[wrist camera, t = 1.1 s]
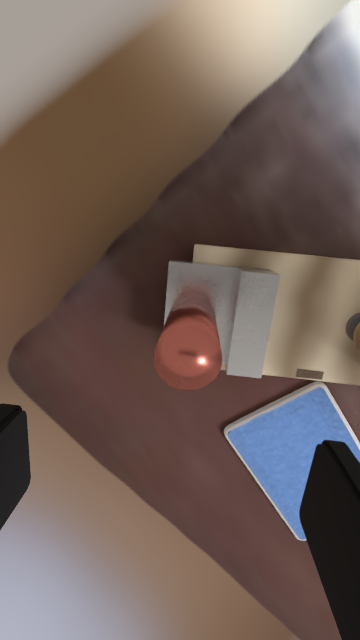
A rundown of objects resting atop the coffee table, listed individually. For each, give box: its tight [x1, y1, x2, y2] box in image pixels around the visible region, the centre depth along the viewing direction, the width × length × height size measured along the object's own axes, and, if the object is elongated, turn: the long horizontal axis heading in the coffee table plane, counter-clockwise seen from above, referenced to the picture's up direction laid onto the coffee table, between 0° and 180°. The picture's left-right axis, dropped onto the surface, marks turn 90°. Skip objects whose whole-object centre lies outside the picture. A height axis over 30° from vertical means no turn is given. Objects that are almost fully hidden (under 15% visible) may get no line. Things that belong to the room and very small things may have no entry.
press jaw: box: [154, 260, 280, 390], centre depth 23 cm, size 9×9×12 cm
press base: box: [193, 244, 360, 385], centre depth 27 cm, size 23×12×7 cm, turn 85°
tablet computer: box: [224, 381, 360, 540], centre depth 35 cm, size 19×13×1 cm, turn 33°
